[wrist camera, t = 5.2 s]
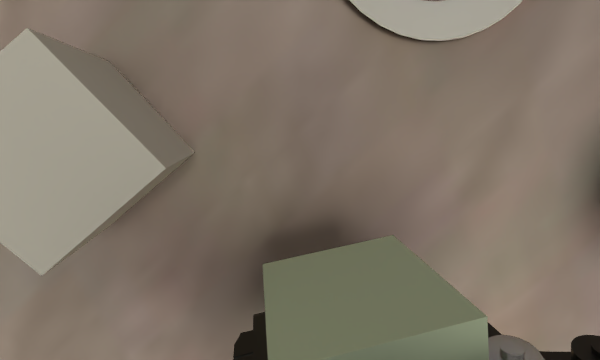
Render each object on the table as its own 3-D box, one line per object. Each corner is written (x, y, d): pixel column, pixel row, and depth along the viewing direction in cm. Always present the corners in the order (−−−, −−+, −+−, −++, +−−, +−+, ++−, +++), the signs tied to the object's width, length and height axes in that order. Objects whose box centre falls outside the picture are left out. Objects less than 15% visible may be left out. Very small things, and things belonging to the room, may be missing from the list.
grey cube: (20, 139, 13) (-114, 151, 8) (109, 61, 13) (27, 27, 8) (112, 223, 14) (41, 276, 10) (195, 152, 14) (166, 168, 10)
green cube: (262, 264, 11) (268, 373, 7) (393, 235, 12) (487, 316, 7) (286, 377, 13) (307, 542, 8) (405, 346, 13) (494, 483, 8)
